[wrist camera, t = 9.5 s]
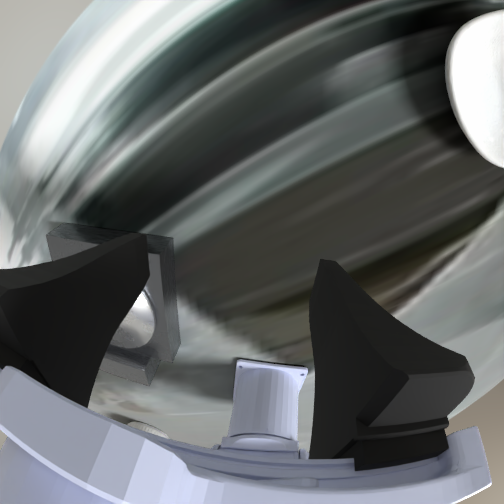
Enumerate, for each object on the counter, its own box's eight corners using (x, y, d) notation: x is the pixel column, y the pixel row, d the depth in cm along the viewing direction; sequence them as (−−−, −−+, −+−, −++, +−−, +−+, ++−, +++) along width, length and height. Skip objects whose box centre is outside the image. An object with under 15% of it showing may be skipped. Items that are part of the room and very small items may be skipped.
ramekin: (172, 446, 48) (167, 464, 44) (127, 429, 48) (120, 446, 43) (176, 432, 43) (169, 454, 38) (123, 411, 42) (114, 432, 38)
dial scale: (182, 362, 30) (170, 394, 26) (95, 336, 31) (77, 362, 27) (173, 238, 23) (148, 268, 18) (64, 222, 23) (32, 244, 19)
